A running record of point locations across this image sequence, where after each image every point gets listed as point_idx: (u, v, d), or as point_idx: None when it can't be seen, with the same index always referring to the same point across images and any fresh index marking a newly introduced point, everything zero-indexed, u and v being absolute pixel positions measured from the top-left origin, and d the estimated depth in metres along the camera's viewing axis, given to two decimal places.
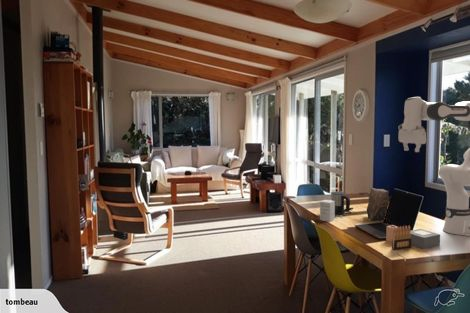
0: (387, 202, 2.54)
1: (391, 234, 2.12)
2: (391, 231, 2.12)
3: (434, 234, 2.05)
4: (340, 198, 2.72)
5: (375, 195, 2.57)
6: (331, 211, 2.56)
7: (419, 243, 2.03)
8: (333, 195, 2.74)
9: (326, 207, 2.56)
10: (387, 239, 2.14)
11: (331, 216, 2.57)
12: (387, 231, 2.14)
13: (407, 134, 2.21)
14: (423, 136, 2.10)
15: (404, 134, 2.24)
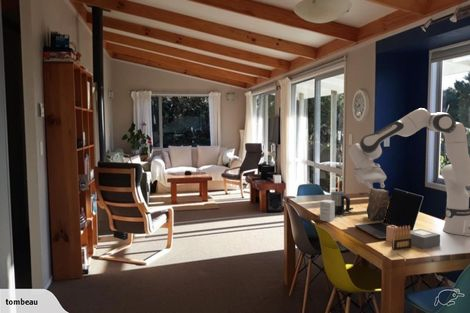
0: (387, 202, 2.54)
1: (391, 234, 2.12)
2: (391, 231, 2.12)
3: (434, 234, 2.05)
4: (340, 198, 2.72)
5: (375, 195, 2.57)
6: (331, 211, 2.56)
7: (419, 243, 2.03)
8: (333, 195, 2.74)
9: (326, 207, 2.56)
10: (387, 239, 2.14)
11: (331, 216, 2.57)
12: (387, 231, 2.14)
13: None
14: (357, 176, 2.22)
15: None
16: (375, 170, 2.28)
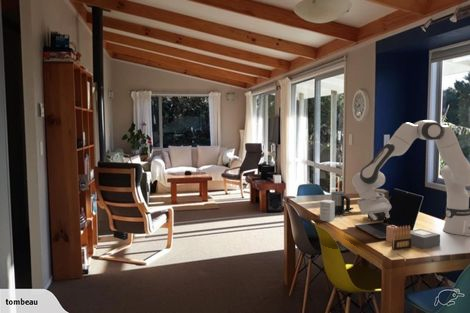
0: None
1: (391, 234, 2.12)
2: (391, 231, 2.12)
3: (434, 234, 2.05)
4: (340, 198, 2.73)
5: None
6: (331, 211, 2.56)
7: (419, 243, 2.03)
8: (333, 195, 2.74)
9: (326, 207, 2.56)
10: (387, 239, 2.14)
11: (331, 216, 2.57)
12: (387, 231, 2.14)
13: None
14: (360, 207, 2.21)
15: None
16: (379, 200, 2.26)
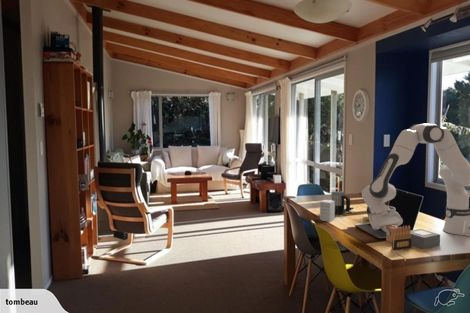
0: (387, 202, 2.54)
1: (391, 234, 2.12)
2: (391, 231, 2.12)
3: (434, 234, 2.05)
4: (340, 198, 2.73)
5: None
6: (331, 211, 2.56)
7: (419, 243, 2.03)
8: (333, 195, 2.74)
9: (326, 207, 2.56)
10: (387, 239, 2.14)
11: (331, 216, 2.57)
12: None
13: None
14: (371, 222, 2.14)
15: None
16: (390, 214, 2.19)
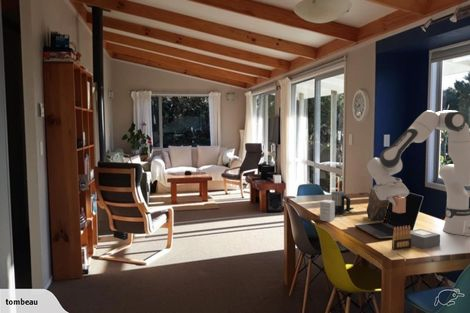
0: (387, 202, 2.54)
1: (397, 204, 2.09)
2: (397, 201, 2.09)
3: (434, 234, 2.05)
4: (340, 198, 2.73)
5: (375, 195, 2.57)
6: (331, 211, 2.56)
7: (419, 243, 2.03)
8: (333, 195, 2.75)
9: (326, 207, 2.56)
10: (393, 210, 2.12)
11: (331, 216, 2.57)
12: None
13: None
14: (377, 193, 2.12)
15: None
16: (396, 185, 2.17)
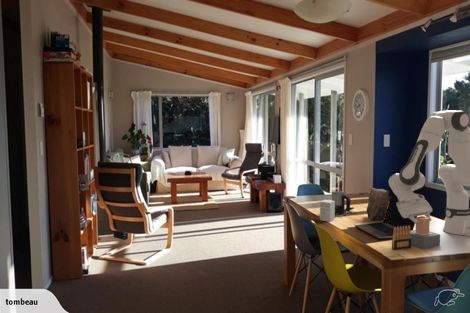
0: (387, 202, 2.54)
1: (421, 225, 2.05)
2: (421, 222, 2.05)
3: (434, 234, 2.05)
4: (340, 198, 2.73)
5: (375, 195, 2.57)
6: (331, 211, 2.56)
7: (419, 243, 2.03)
8: (333, 195, 2.75)
9: (326, 207, 2.56)
10: (417, 230, 2.08)
11: (331, 216, 2.57)
12: None
13: None
14: (400, 210, 2.08)
15: None
16: (419, 202, 2.13)
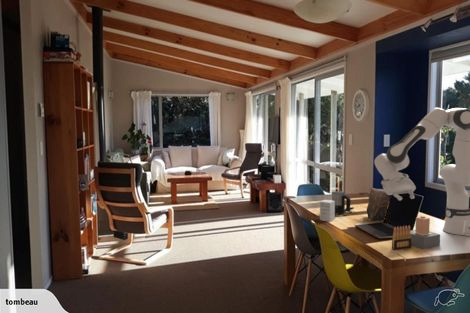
0: (387, 202, 2.54)
1: (421, 225, 2.05)
2: (421, 222, 2.05)
3: (434, 234, 2.05)
4: (340, 198, 2.74)
5: (375, 195, 2.57)
6: (331, 211, 2.56)
7: (419, 243, 2.03)
8: (334, 195, 2.75)
9: (326, 207, 2.56)
10: (417, 230, 2.08)
11: (331, 216, 2.57)
12: (417, 222, 2.08)
13: None
14: (385, 188, 2.16)
15: None
16: (403, 180, 2.22)
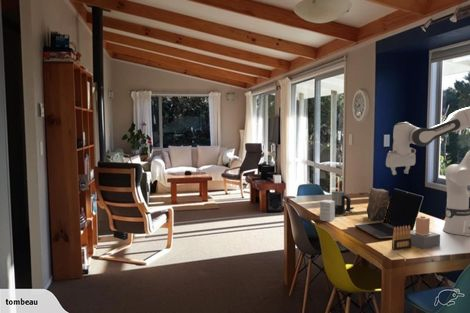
0: (387, 202, 2.54)
1: (421, 225, 2.05)
2: (421, 222, 2.05)
3: (434, 234, 2.05)
4: (341, 198, 2.74)
5: (375, 195, 2.57)
6: (331, 211, 2.56)
7: (419, 243, 2.03)
8: (334, 194, 2.76)
9: (326, 207, 2.56)
10: (417, 230, 2.08)
11: (331, 216, 2.57)
12: (417, 222, 2.08)
13: None
14: (387, 160, 2.24)
15: None
16: (408, 155, 2.28)
